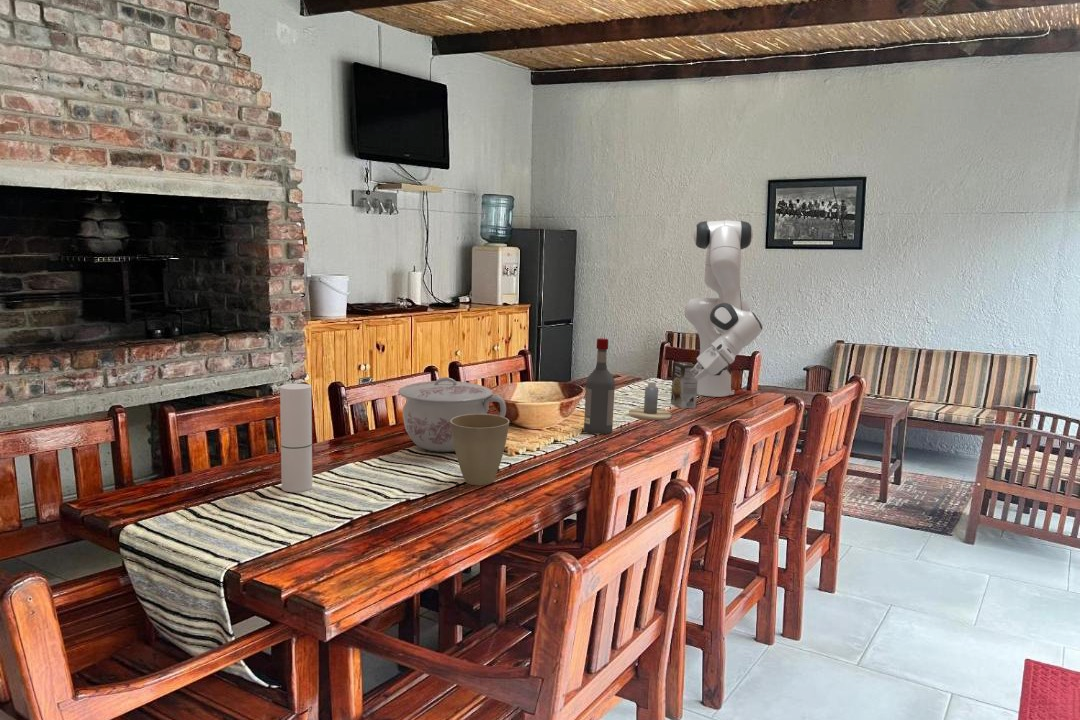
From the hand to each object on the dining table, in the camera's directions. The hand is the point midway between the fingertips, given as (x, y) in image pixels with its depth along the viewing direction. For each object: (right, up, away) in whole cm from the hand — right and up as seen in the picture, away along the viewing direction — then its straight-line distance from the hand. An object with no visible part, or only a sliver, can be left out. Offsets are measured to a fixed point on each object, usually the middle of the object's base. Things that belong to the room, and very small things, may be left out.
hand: (693, 376), depth 284 cm
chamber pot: (-82, -20, -48) cm, 97 cm away
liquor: (-35, -17, -23) cm, 46 cm away
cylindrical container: (-113, -25, -89) cm, 146 cm away
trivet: (-15, -14, +2) cm, 21 cm away
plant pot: (-70, -25, -79) cm, 109 cm away
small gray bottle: (-15, -13, +1) cm, 20 cm away
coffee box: (0, -12, +20) cm, 23 cm away
